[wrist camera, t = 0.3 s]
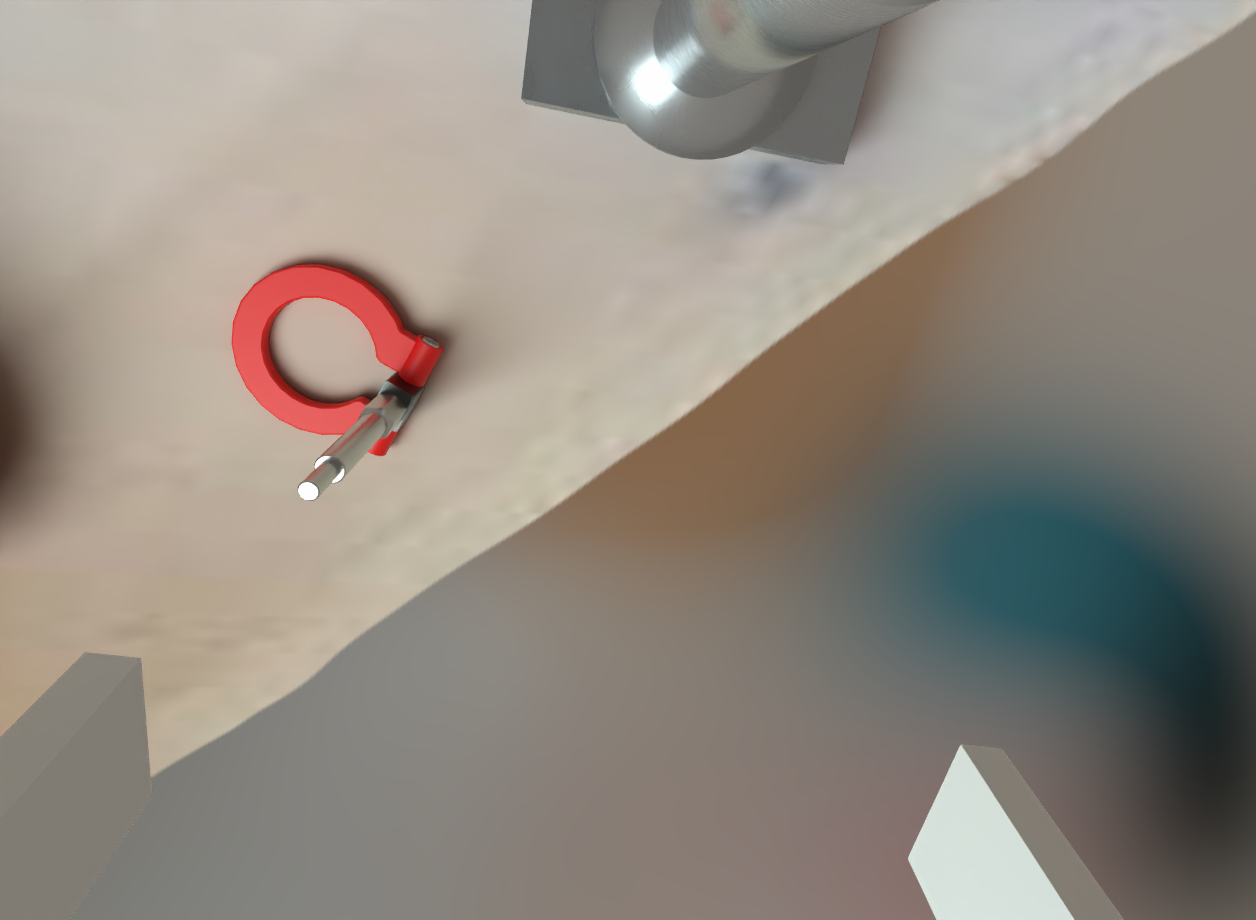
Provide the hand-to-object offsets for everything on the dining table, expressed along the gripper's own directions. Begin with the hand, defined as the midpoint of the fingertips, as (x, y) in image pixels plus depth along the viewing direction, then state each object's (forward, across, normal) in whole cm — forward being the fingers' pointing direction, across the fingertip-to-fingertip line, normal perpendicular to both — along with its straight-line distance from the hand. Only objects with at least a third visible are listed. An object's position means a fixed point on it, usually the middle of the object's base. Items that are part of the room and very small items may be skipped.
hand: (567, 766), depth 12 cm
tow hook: (+28, -12, -2) cm, 30 cm away
